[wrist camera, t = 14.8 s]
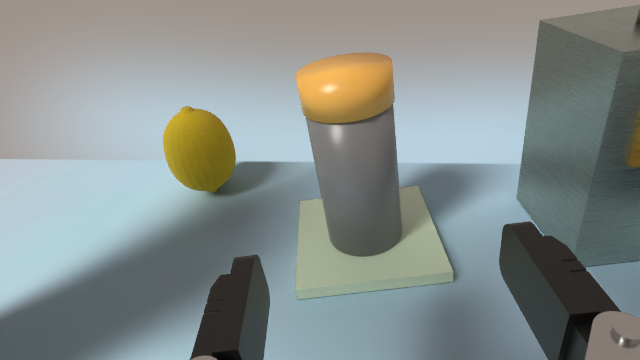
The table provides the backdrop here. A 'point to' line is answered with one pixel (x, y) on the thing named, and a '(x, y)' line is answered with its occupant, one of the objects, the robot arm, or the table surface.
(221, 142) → the lemon
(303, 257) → the pad
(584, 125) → the unit
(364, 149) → the cylinder
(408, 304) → the table surface
